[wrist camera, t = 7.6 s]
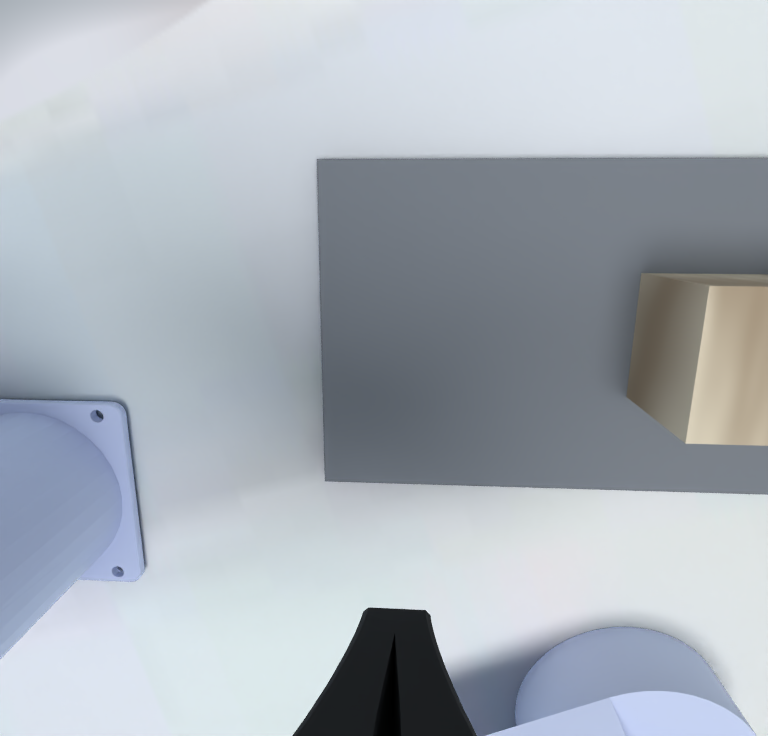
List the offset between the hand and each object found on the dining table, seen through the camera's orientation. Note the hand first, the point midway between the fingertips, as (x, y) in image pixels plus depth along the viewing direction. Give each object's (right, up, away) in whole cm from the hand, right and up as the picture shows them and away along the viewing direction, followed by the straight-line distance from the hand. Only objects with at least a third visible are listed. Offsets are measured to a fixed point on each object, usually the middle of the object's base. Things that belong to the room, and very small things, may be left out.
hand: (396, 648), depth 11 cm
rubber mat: (+8, +7, +8) cm, 14 cm away
